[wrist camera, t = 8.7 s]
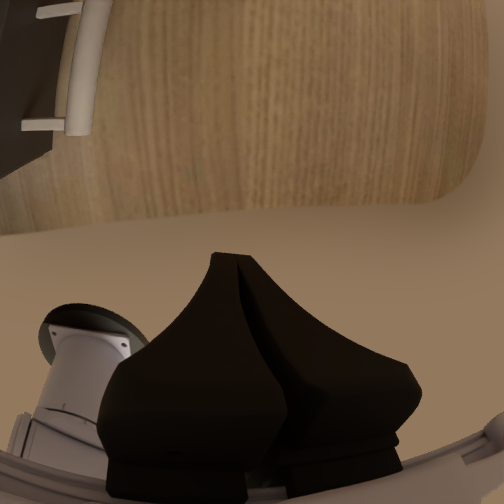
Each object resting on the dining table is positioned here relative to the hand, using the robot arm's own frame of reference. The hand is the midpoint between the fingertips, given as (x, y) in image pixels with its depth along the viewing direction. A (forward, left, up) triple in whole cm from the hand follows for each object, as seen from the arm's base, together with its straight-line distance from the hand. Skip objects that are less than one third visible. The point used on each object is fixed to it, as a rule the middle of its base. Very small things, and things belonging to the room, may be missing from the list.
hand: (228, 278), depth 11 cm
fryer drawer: (+7, +15, -9) cm, 19 cm away
